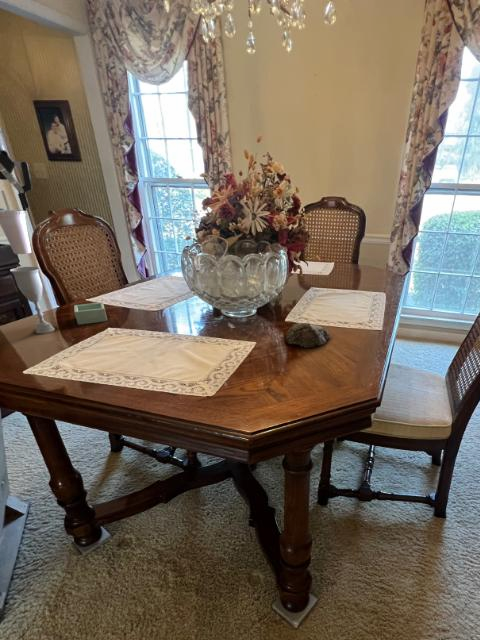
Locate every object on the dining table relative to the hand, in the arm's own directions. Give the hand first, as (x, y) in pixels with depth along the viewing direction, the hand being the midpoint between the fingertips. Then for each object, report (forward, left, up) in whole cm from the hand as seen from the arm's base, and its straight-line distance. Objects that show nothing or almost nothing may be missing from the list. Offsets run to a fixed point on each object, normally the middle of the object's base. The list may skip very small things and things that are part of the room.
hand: (8, 210), depth 92 cm
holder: (+11, +16, -33) cm, 38 cm away
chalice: (-2, +9, -33) cm, 35 cm away
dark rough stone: (+65, -33, -33) cm, 81 cm away
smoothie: (0, 0, -10) cm, 10 cm away
